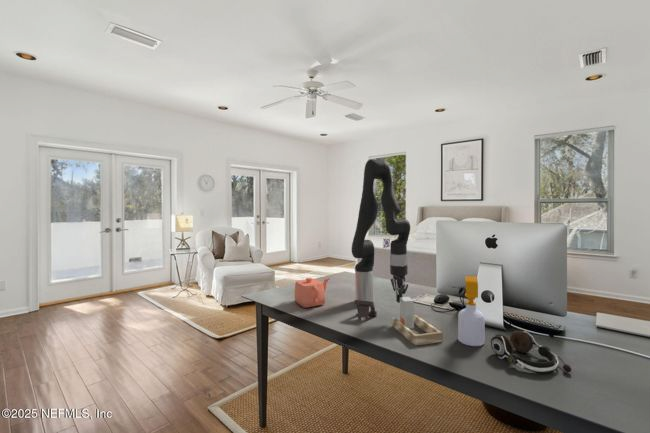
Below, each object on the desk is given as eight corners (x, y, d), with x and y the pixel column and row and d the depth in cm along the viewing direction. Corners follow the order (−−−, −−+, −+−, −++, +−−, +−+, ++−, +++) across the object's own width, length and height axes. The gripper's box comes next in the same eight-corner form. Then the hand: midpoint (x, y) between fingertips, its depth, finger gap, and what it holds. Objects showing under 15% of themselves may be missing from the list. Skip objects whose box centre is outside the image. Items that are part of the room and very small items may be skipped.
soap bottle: (482, 337, 123) (482, 275, 122) (486, 348, 114) (486, 280, 113) (457, 335, 126) (457, 273, 125) (459, 345, 117) (459, 279, 116)
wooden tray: (392, 326, 137) (392, 318, 136) (416, 323, 139) (416, 315, 139) (415, 345, 118) (415, 336, 118) (442, 341, 121) (442, 332, 120)
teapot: (339, 305, 166) (339, 279, 165) (305, 311, 157) (304, 284, 156) (323, 295, 183) (322, 271, 183) (291, 300, 175) (290, 275, 174)
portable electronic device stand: (377, 315, 149) (376, 298, 149) (372, 321, 142) (372, 303, 142) (359, 313, 153) (359, 296, 152) (353, 319, 146) (353, 301, 145)
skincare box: (399, 323, 139) (399, 296, 138) (409, 323, 139) (409, 296, 139) (404, 329, 133) (404, 301, 132) (414, 328, 133) (414, 300, 132)
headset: (522, 324, 115) (582, 356, 97) (519, 343, 117) (577, 379, 98) (486, 331, 110) (542, 367, 91) (483, 351, 111) (538, 391, 93)
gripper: (384, 261, 147) (385, 298, 148) (397, 267, 134) (398, 307, 135) (399, 260, 149) (400, 297, 150) (413, 265, 136) (414, 305, 137)
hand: (399, 302), depth 142 cm, fingers closed
